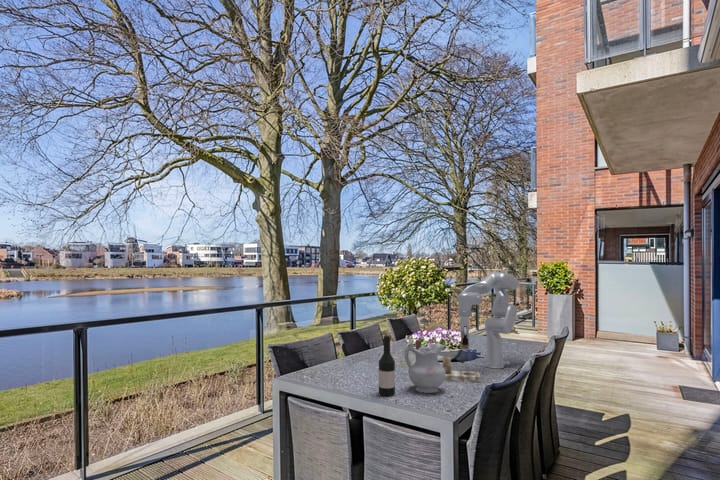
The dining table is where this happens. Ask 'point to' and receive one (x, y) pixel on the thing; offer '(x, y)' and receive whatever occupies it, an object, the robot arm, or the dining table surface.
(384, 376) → the wine bottle
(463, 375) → the board
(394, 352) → the dining table surface
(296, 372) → the dining table surface
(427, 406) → the dining table surface
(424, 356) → the ceramic pitcher
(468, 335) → the oak peg
